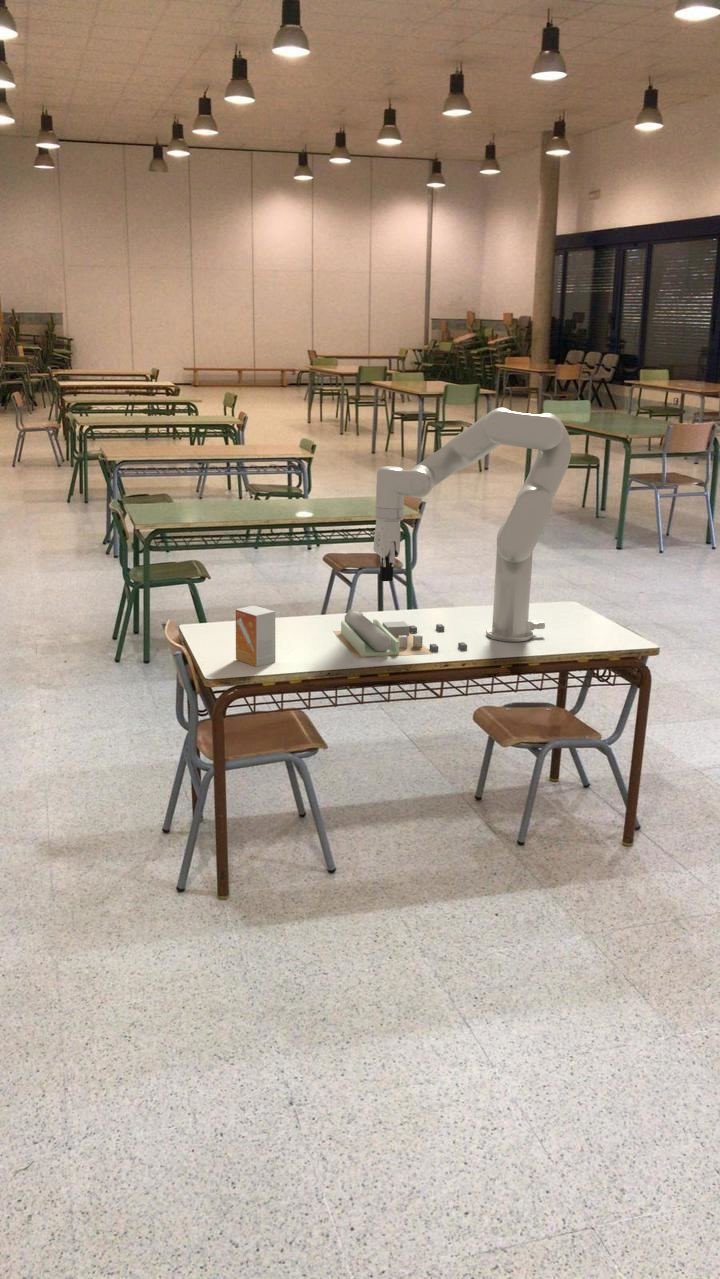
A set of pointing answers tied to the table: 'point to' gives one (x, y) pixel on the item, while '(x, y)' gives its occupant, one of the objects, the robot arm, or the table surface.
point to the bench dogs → (416, 641)
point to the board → (402, 652)
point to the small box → (255, 635)
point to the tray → (363, 646)
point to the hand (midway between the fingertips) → (386, 580)
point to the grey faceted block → (397, 628)
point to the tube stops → (433, 646)
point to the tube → (368, 631)
